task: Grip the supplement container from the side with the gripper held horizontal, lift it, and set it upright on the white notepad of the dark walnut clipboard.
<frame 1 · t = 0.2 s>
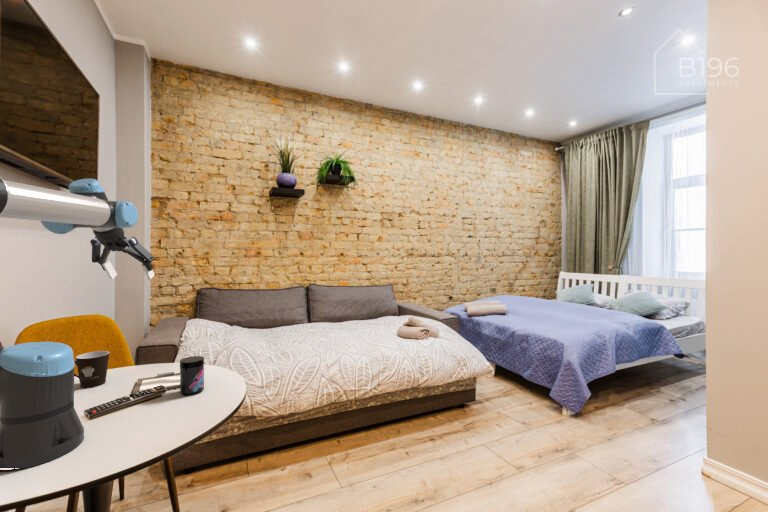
hand: (132, 277, 123), 35 cm above the table, tool tilted 35°, fingers open, 13 cm apart
coffee mug: (89, 384, 114), on the table
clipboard: (164, 383, 115), on the table
supplement container: (192, 392, 108), on the table
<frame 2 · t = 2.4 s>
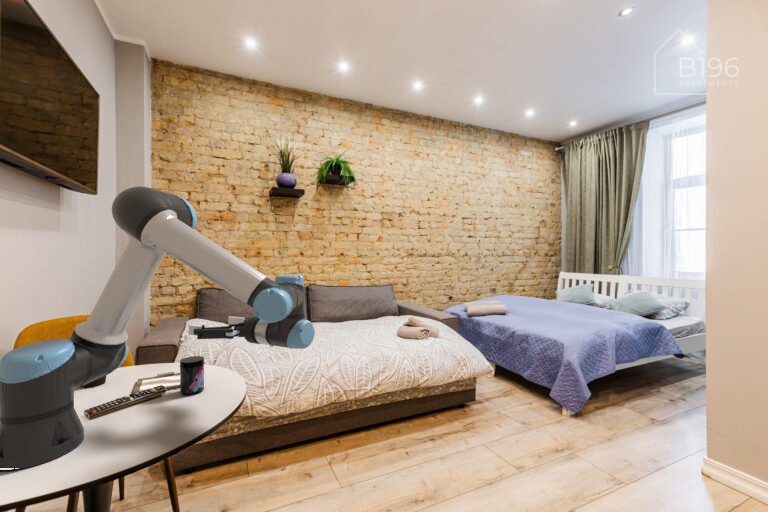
hand: (210, 324, 105), 22 cm above the table, tool horizontal, fingers open, 13 cm apart
nothing on the table moved.
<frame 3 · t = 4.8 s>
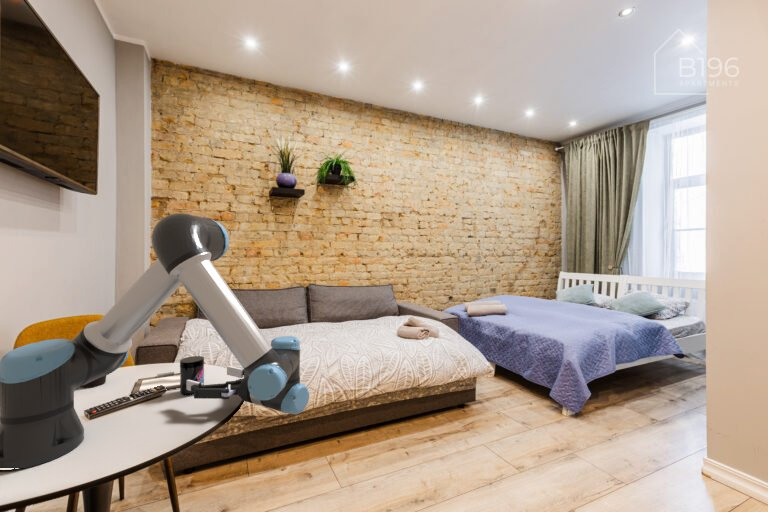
hand: (208, 377, 105), 6 cm above the table, tool horizontal, fingers open, 13 cm apart
nothing on the table moved.
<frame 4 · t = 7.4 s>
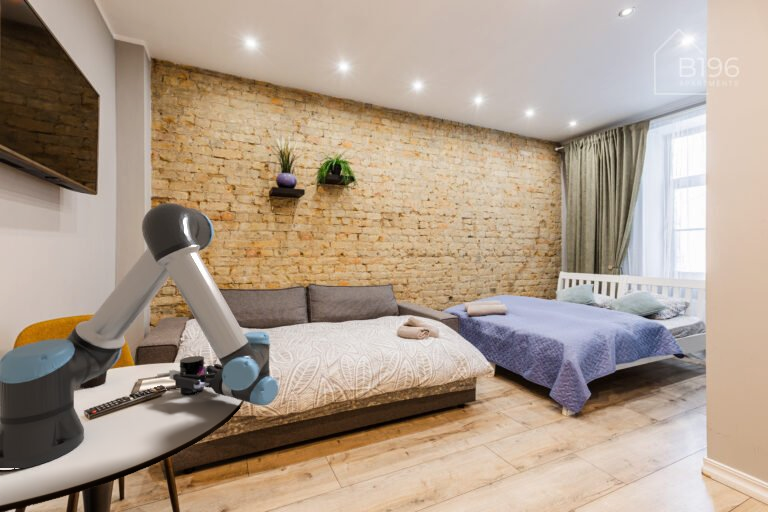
hand: (182, 370, 111), 6 cm above the table, tool horizontal, fingers closed on supplement container, 7 cm apart
supplement container: (192, 392, 108), on the table, touching gripper
everything else where it was.
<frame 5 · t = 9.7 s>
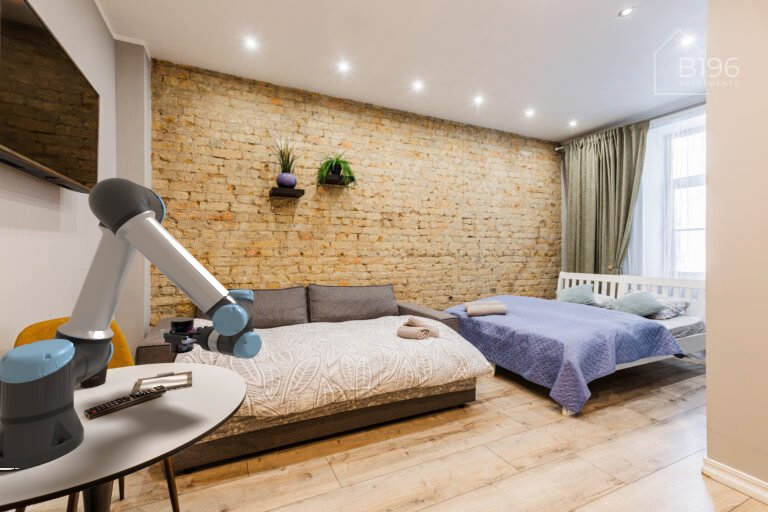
hand: (173, 331, 115), 18 cm above the table, tool horizontal, fingers closed on supplement container, 7 cm apart
supplement container: (182, 351, 112), point 12 cm above the table, touching gripper
everything else where it was.
when the fingers open (8 cm above the table, at t = 12.3 s): supplement container drops 1 cm, resting on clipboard.
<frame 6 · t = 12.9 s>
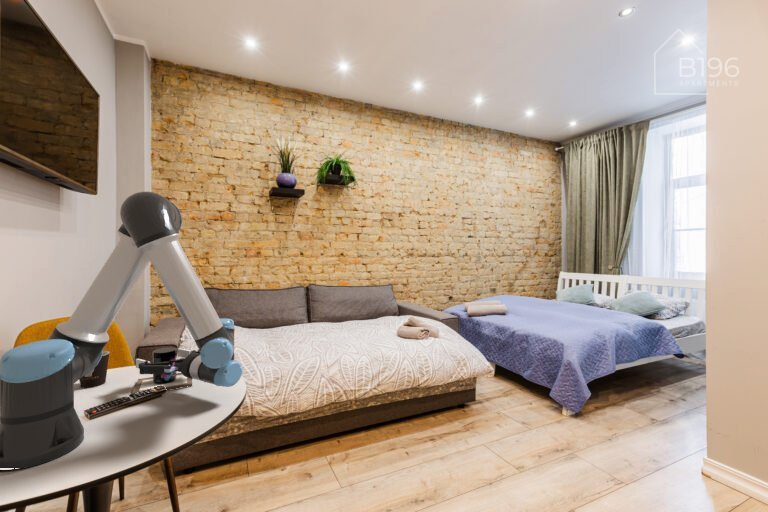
hand: (158, 357, 116), 8 cm above the table, tool horizontal, fingers open, 13 cm apart
supplement container: (164, 381, 115), point 1 cm above the table, touching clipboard
everything else where it was.
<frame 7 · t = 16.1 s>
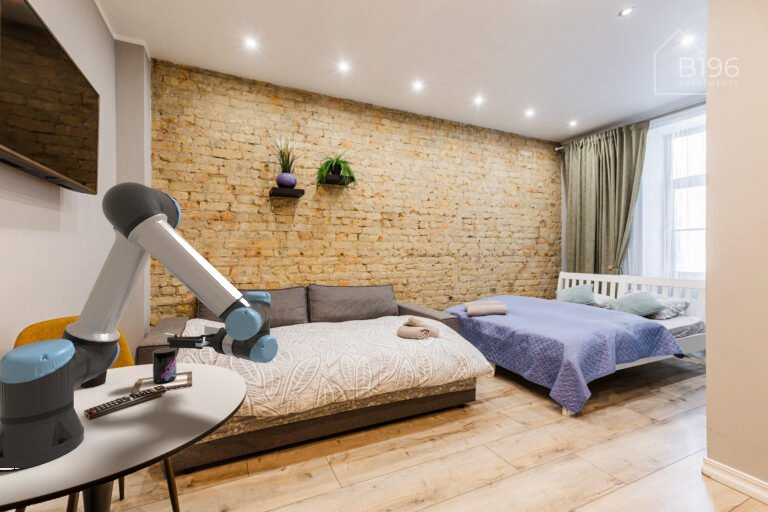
hand: (186, 333, 111), 18 cm above the table, tool horizontal, fingers open, 13 cm apart
nothing on the table moved.
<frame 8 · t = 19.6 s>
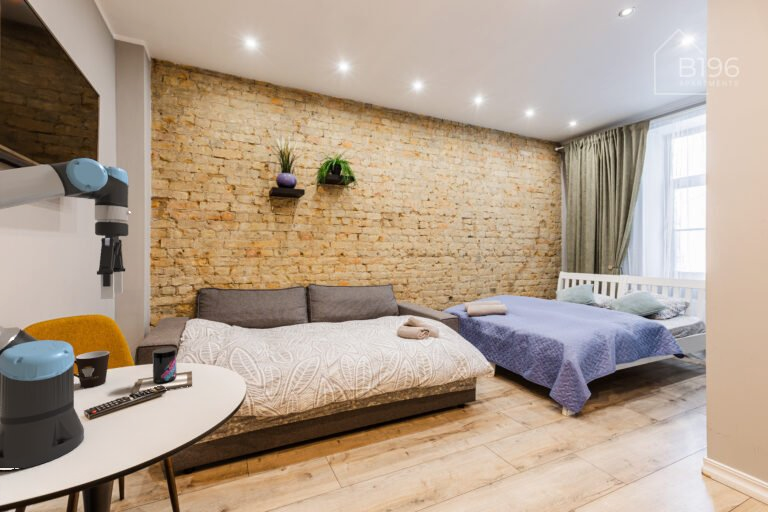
hand: (112, 296, 98), 32 cm above the table, tool pointing down, fingers open, 13 cm apart
nothing on the table moved.
at the end: supplement container inside the target area on the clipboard (0.1 cm from its centre), point 0.8 cm above the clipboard's base; supplement container tilted 0°; the gripper is holding nothing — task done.
